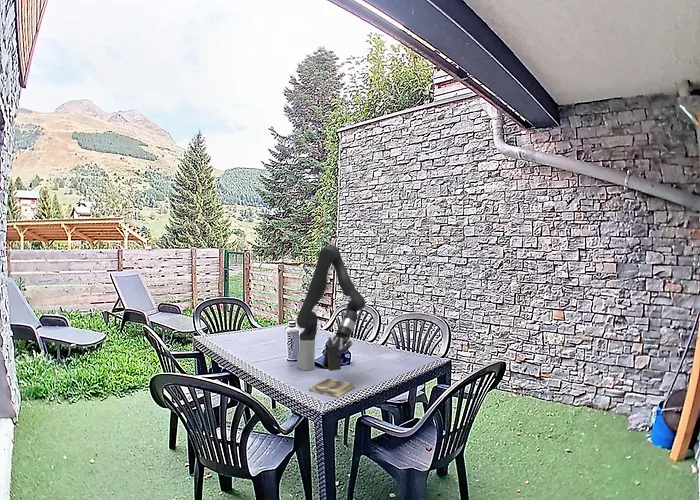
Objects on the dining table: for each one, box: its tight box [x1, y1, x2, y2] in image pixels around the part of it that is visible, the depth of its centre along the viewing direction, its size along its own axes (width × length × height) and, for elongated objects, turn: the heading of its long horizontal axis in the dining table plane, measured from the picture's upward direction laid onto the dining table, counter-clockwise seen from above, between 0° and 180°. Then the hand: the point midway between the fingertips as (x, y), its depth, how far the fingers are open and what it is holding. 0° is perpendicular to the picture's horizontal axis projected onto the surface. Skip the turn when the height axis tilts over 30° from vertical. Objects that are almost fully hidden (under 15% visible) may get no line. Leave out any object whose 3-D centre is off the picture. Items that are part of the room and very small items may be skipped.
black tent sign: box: [322, 344, 342, 372], centre depth 230 cm, size 9×6×12 cm, turn 30°
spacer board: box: [308, 377, 356, 399], centre depth 230 cm, size 17×17×2 cm
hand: (333, 356), depth 230 cm, fingers closed on black tent sign, 4 cm apart
